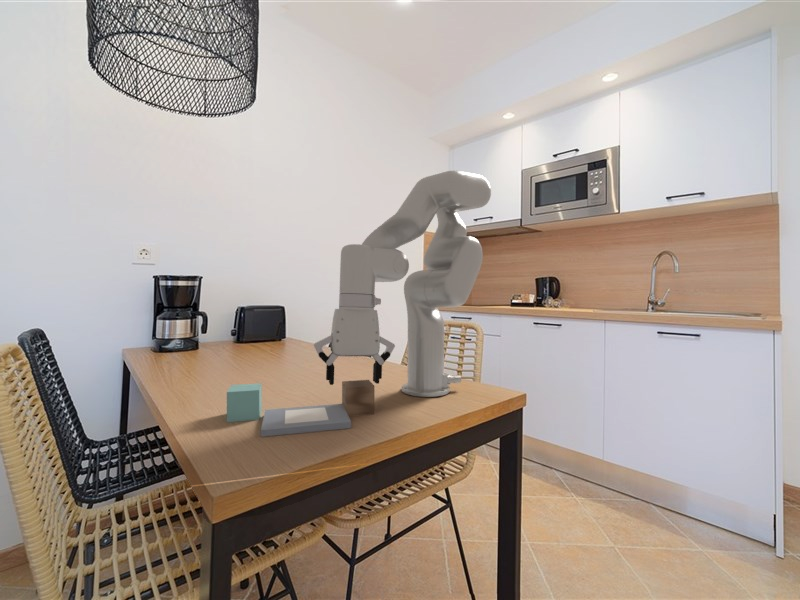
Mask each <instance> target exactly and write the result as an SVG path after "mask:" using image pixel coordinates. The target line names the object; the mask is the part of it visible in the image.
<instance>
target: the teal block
mask: <svg viewBox="0 0 800 600" xmlns="http://www.w3.org/2000/svg"><path fill="white" fill-rule="evenodd" d="M262 395H263V394H262V382H261V383H244V384H243V383H241V384H231V385H230V386H229V388H228V389H227V391H226V422H227V423H232V422H244V421H256V420H260V418H261V414H262V411H263V410H262V408H263V407H262V405H263V404H262V403H263V401H262Z"/></svg>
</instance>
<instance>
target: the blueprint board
mask: <svg viewBox="0 0 800 600" xmlns="http://www.w3.org/2000/svg"><path fill="white" fill-rule="evenodd" d="M351 428H352V420H351V418H350V416H348V414H347V412H346V410H345V407H344V405H343V404H342V403H334V404H322V405H309V406H307V405H306V406H297V407H285V408H283V407H282V408H271V409H270V408H269V409H265V410H264V415H263V418H262V422H261V427H260V437H261V438H263V437H273V436H274V437H275V436H282V435H292V434H294V435H295V434H304V433H305V434H306V433H314V432H315V433H316V432H323V431H324V432H325V431H333V430H345V429H351Z"/></svg>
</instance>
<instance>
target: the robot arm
mask: <svg viewBox="0 0 800 600" xmlns="http://www.w3.org/2000/svg"><path fill="white" fill-rule="evenodd" d="M491 196H492V187H491V184H490V182H489V180H487V178H486V177H484V176H483V175H481V174H477V173H471V172H468V171H460V170H448V171H442V172H439V173H436V174H433V175H428V176H426V177H423V178H420V179H419V180H418V181H417V182H416V183H415V185H414V186H413V188H412V189H411V191H410V192H409V194H408V195H407V197H406V198H405V200H403V203H402V204H401V206H400V207H399V208H398V210H397V211H396V212H395V214H393V215H392V216H391V217H389V218H388V219H387V220H385V221H384V222H383V223H382V224H380V225H379V226H378V227H376V229H374V230H373V231H372V232H370V233H369V235H368V236H366V238H365V239H364V240H363V241H362V243H361V244H359V243H358V244H357V243H355V244H353V243H352V244H347V245H343V247H342V248H341V250H340V264H339V265H340V266H339V267H340V268H339V294H338V295H339V296H338V297H339V299H338V308H335V309H334V311H333V317H332V323H331V334H330V335H329V336H327V337H325V338H322V339H320V340H319V341H317V342H315V343H313V347H314V350H315V351H316V353H317V355H318V357H319V358H320V359H321V360H322V362H324V363H325V364H326V366H325V368H326V372H325V374H326V375H325V380H326V381H328V383H329V385H330V386H333V385H334V384H335V365H334V362H335V361H336V360H337V359H338V357H372V359H374V363H373V366H372V367H373V368H372V369H373V370H372V381H373V382H374V383H375V384H376V385H377V384H380V380H382V378H383V377H382V374H383V373H382V372H383V365H384V363H385V362H386V361H387V360H388V359H389V358H390V357H391V354H392V352H393V351H394V349H395V347H396V345H395V343H393V342H391V341H390V340H388V339H385V338H384V337H382V336H381V335H380V323H379V322H380V321H379V316H378V315H379V314H378V309H375V307H376V306H378V305H380V306H381V303H382V299H381V298H380V297H379V298H378V297H377V296H376V293H375V290H376V289H375V287H376V283H392V282H397V281H400V280H402V279H403V278H404V277H405V276H406V275H407V274H408V272H409V270H410V264H409V259H408V257H407V255H406V254H405V253H404V252H402V250H399V249H398V248H400V247H401V246H404V245H407V244H409V243H411V242H412V241H414V240H416V239H418V238H420V237H421V236H422V235H424V234H425V233H426V231H427V229H428V227H429V226H430V224H431V222H432V221H433V219H434V217H435V216H436V218H437V228H436V230H435V233H434V234H433V237H432V238H431V241H430V243H429V244H428V247H427V249H426V251H425V253H424V257H423V264H424V266H425V270H424V269H423V270H417V271H414V272H412V273H410V274H409V275H408V276H407V277H406V279H405V280H404V284H403V285H404V286H403V294H404V300H405V305H406V311H407V382H405V383H404V384H402V385H401V392H403V394H406V395H409V396H414V397H421V398H426V397H427V398H431V397H432V398H434V397H442V396H446V395H448V394H449V393H450V392H451V390H450V389H451V387H450V385H451V384H459V383H461V382H462V376H461V375H453V374H447V373H445V323H444V319H443V316H442V314H441V312H440V310H439V308H458V307H462V306H463V305H465V303H466V302H467V301H468V299H469V296H470V294H471V293H472V290H473V287H474V285H475V282H476V280H477V278H478V275H479V273H480V269H481V267H482V264H483V257H484V256H483V248H482V247H483V246H482V245H481V242H480V241H479V240H478V239H477V238H475V237H474V236H471V235H468V233H467V231H468V230H467V226H466V224H465V223H464V221H463V220H462V219H461V217H460V216H459V213H458V212H465V211H469V210H476V209H480V208H483V207H485V206H486V205H487V204H488V203H489V201H490V200H491ZM328 344H330V354H328V355H327V354H326V353H325V352H324V350H323V347H324V346H327V345H328ZM380 344H381V345H383V346H385V350H384V351H383V353H381V354H379V353H380V348H381V347H380Z"/></svg>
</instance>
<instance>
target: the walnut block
mask: <svg viewBox="0 0 800 600" xmlns="http://www.w3.org/2000/svg"><path fill="white" fill-rule="evenodd" d="M341 386H342V387H341V404H343V405H344V407H345V410H346V412H347V414H348V416H349V417H355V416H365V415H366V416H368V415H369V416H370V415H375V385H374V384H373V383H372V382H371V379H359V380H343V381H342V382H341Z"/></svg>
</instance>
